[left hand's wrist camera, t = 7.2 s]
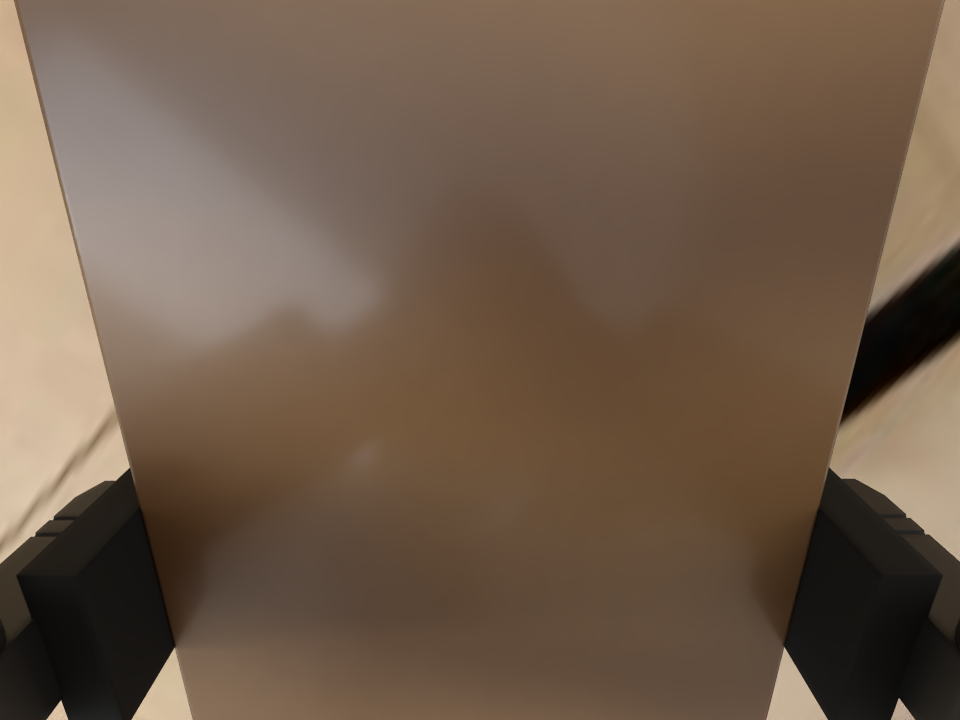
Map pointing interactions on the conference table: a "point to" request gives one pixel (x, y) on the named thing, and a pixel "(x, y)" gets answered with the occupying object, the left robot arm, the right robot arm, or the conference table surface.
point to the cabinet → (479, 331)
